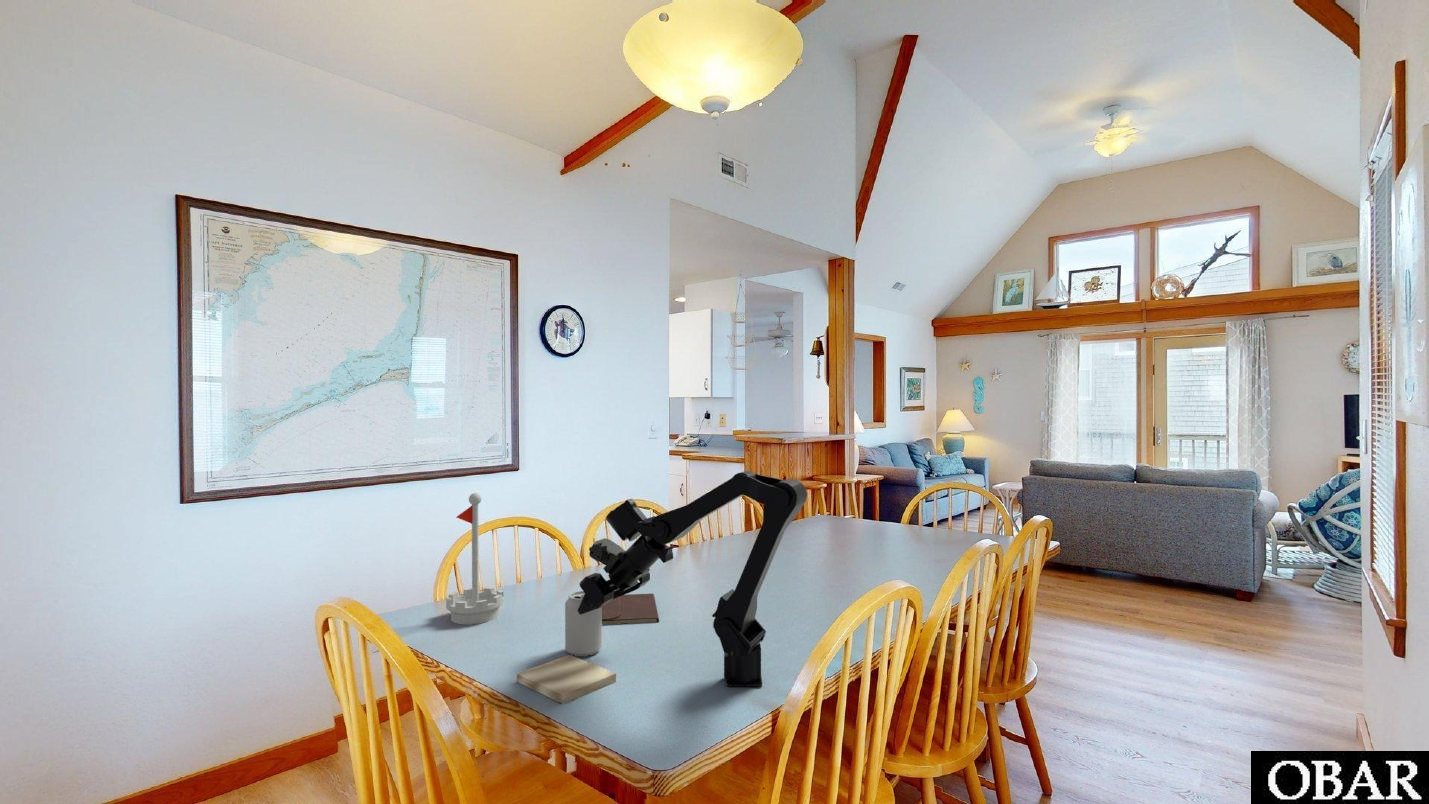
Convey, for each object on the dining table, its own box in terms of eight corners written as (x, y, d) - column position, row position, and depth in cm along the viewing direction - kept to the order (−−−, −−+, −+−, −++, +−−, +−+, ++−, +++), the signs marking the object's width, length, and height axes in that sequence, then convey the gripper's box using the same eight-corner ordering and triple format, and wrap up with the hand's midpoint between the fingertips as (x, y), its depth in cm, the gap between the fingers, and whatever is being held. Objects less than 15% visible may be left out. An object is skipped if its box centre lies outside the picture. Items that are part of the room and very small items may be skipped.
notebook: (654, 599, 176) (654, 591, 176) (659, 624, 157) (659, 615, 157) (596, 602, 174) (596, 594, 174) (594, 627, 154) (594, 619, 154)
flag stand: (481, 605, 170) (481, 488, 170) (514, 614, 163) (514, 491, 162) (435, 619, 159) (434, 494, 159) (468, 629, 152) (468, 498, 152)
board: (516, 681, 123) (516, 673, 123) (569, 662, 132) (569, 654, 132) (562, 703, 114) (562, 695, 114) (616, 681, 123) (616, 673, 123)
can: (558, 651, 138) (558, 593, 138) (588, 642, 144) (588, 586, 144) (578, 661, 133) (578, 601, 133) (609, 651, 138) (608, 593, 138)
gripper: (638, 520, 144) (594, 565, 148) (588, 536, 127) (541, 586, 131) (670, 560, 141) (625, 605, 145) (623, 582, 124) (573, 632, 128)
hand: (592, 606), depth 137 cm, fingers open, 9 cm apart
